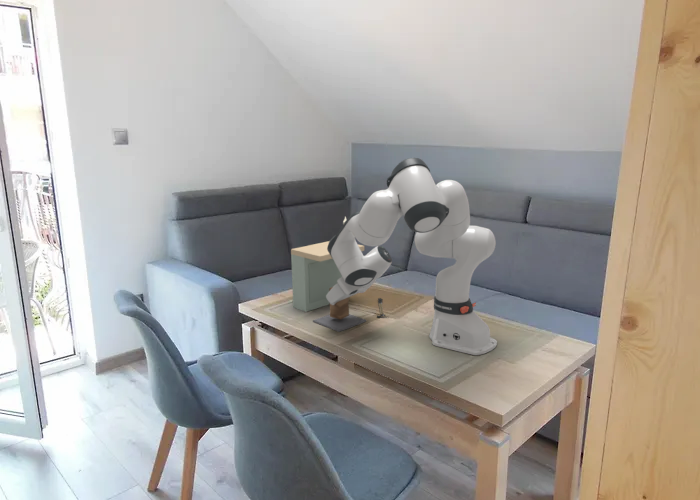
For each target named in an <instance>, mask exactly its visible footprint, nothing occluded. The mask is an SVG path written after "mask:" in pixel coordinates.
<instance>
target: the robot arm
mask: <svg viewBox="0 0 700 500" xmlns="http://www.w3.org/2000/svg"><path fill="white" fill-rule="evenodd" d="M386 186H387V188H386V189H381V190H376V191H374V192H373V193H372V194H371V195H370V196H369V197H368V199H367V200H366V201H365V203H364V204H363V206H362V207H361V209H360V210H359V211H356V212H354V213H352V214H350V216H349V217H348V218H346V219H347V220H346V221H345V223H344V224H343V223H342V225H341V227H340V228H339V230H338V231H337V233H336V234H335V235H333V236H332V237H331V238H330V240H329V244H328V247H327V250H328V252H329V254H330V255H331V257H332V258H333V260H334V262H335V264H336V266H337V268H338V270H339V271H340V273H341V275H342V277H341V278H339V279H338V280H337V282H338V283H337V284H336V285H335V286H334V287H333V288H332V289H331V290H330V291H329V292H328V294H327V295H326V298H327V300H328V301H329V303H330V304H332V305H335V304H336V303H337V302H339V301H341V300H343V299H346V298H348V297H349V298H350V297H352V296H355V295H358V294H359V293H360V294H363V293H365V292H366V291H367V290H368V289H369V288H370V287H371V286H372V285H374V283H375V282H376V280H377V279H380V278H381V277H382V276H383V275H384V274H385V272H387V270H388V269H389V268H390V266H391V265H392V262H393V259H392V258H393V257H392V256H391V254H390V252H389V251H388V250H387V249H386V248H385V247H383V246H381V245H384V244H385V243H386V242H387V241H388V240H389V239H390V237H391V236H392V234H393V233H394V230H395V228H396V226H397V224H398V221H399V220H400V218H402V217H403V218H404V219H403V220H404V221H405V223H406V225H407V227H408V228H409V230H411V231H413V232H415V235H414V245H415V248H416V250H417V251H418V252H419V254H421V255H425V256H429V257H432V258H441V259H442V258H443V259H445V258H446V259H453V260H455V262H454V264H453V265H450V266H447V267H446V268H443V269H441V270H440V271H439V272H438V273H437V275H436V276H435V296H434V297H433V308H434V313H433V321H432V324H431V329H430V332H429V339H430V340H431V343H432V345H433V346H436V347H440V348H444V349H446V350H447V349H448V350H452V351H456V352H460V353H463V354H469V355H473V356H479V355H484V354H486V353H489V352H491V351H493V350H494V349H495V348H496V347H497V345H498V341H497V339H495V338H493V337H491V330H490V327H489V325H488V324H487V322H485V321H484V319H482V318H481V317H480V316H479V315H478V314H477V313H476V312H475V311H474V307H476V306H477V305H476V304H477V302H473V303H472V301H471V298H470V290H471V289H470V288H471V281H472V277H473V275H474V271H475V270H476V269H477V268H478V266H479V265H480V264H481V263H482V262H483V261H486V260H487V259H488V258H490V256H492V255H493V254H494V251H495V249H496V246H497V245H496V244H497V243H496V242H497V241H496V236H495V234H494V233H493V231H492V230H491V229H490V228H486V227H483V226H479V225H471V212H470V203H469V202H470V201H469V198H468V196H467V192H466V190H465V188H464V186H463V185H462V184H461V183H460V182H458V181H456V180H454V179H453V180H452V179H445V180H442V181H439V182H438V183H437V184H436V182H435V181H434V178H433V176H432V173H431V170H430V168H429V167H428V164H427V163H426V162H425V161H424V160H423V159H421V158H418V157H410V158H405V159H403V160H401V161H400V162H399V163H398V164H397V165H396V166H394V168H393V170H392V171H391V174H390V176H388V177H387V180H386ZM356 240H357V241H358V242H359V243H360V244H361V245H363V246H367V247H373V248H372V249H371V250H370V251H369V252H368V253H366V254H365V255H364V253H363V251H361V250H360V248H359V246H358V245H359V244H358V242H357V241H356ZM330 304H329V305H330Z"/></svg>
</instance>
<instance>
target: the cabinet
mask: <svg viewBox="0 0 700 500" xmlns="http://www.w3.org/2000/svg"><path fill="white" fill-rule="evenodd" d="M329 241H330V240H329ZM329 241H324V242H319V243H315V244H314V243H313V244H308V245H306V246H298V247H295V248H291V250H290V255H291V256H290V257H291V258H290V259H291V283H292V284H291V285H292V307H293V308H294V309H297V310H299V311H302V312H305V313H308V312H310V311H312V310H317V309H319V308H323V307H325V306H328V305H330V303H329V301H328V300H327V298H326V295H327V294H328V292H329V288H331V287H334V286H335V285H336V284H337V283H338V282H337V280H338V279H339V278H341V277H342V275H341V273H340V271H339V270H338V268H337V266H336V264H335V262H334V260H333V258H332V257H331V255H330V254H329V252H328V250H327V247H328V244H329ZM358 246H359V248H360V250H361V252H365V245H364V244H358Z"/></svg>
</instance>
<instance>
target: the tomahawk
mask: <svg viewBox="0 0 700 500" xmlns="http://www.w3.org/2000/svg"><path fill="white" fill-rule="evenodd" d="M377 301H378V302H377V303H378V308H379V309H378V310H379V313H380V314H378V315H376V318H377V319H389V316H387V315H386V314H384V307H383V298H381V297H378V298H377Z"/></svg>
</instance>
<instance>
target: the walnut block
mask: <svg viewBox="0 0 700 500" xmlns="http://www.w3.org/2000/svg"><path fill="white" fill-rule="evenodd" d="M332 288H333V287H331V288H329V291H330V290H331V289H332ZM349 299H350V297H348V298H346V299H343V300H341V301H339V302H337V303H336V304H335V305H332V304H329V314H330V317H333V318H337V319H340V320H341V319H343V318H345V317H347V316H349V314H350V303H349V302H350V300H349Z"/></svg>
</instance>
